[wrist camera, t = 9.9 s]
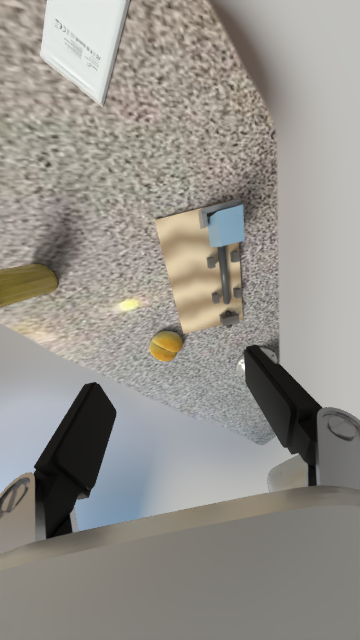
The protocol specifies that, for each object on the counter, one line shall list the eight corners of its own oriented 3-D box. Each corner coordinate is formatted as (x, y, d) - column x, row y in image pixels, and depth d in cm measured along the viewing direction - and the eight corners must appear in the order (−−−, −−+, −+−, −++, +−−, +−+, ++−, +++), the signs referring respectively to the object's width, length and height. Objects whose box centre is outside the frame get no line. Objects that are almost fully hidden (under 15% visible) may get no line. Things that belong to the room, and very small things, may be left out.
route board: (241, 321, 41) (247, 326, 38) (183, 334, 41) (185, 341, 38) (234, 200, 29) (242, 194, 26) (154, 220, 30) (153, 217, 27)
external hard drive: (135, -12, 20) (104, 110, 24) (68, -83, 17) (46, 65, 21) (133, -33, 18) (100, 101, 22) (58, -114, 16) (37, 51, 20)
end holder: (235, 220, 30) (242, 217, 27) (200, 229, 30) (203, 227, 28) (234, 203, 29) (241, 198, 26) (198, 212, 29) (201, 208, 26)
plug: (233, 301, 37) (247, 311, 31) (218, 305, 37) (228, 316, 31) (226, 214, 29) (243, 204, 23) (206, 219, 30) (217, 211, 23)
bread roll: (187, 337, 42) (189, 346, 38) (169, 359, 45) (169, 369, 41) (161, 323, 39) (161, 331, 36) (144, 347, 42) (142, 357, 39)
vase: (47, 260, 31) (-38, 267, 18) (63, 288, 34) (0, 313, 21) (19, 267, 31) (-84, 280, 18) (38, 295, 34) (-41, 324, 21)
